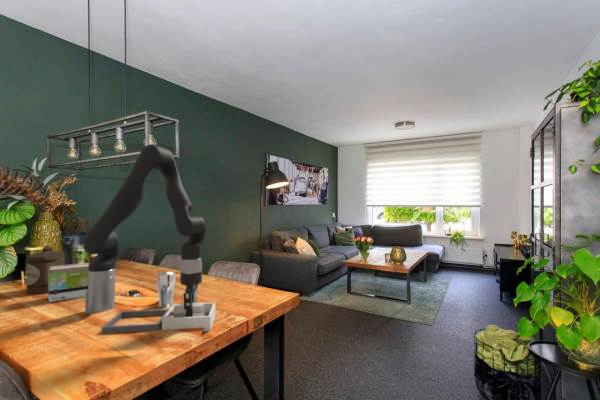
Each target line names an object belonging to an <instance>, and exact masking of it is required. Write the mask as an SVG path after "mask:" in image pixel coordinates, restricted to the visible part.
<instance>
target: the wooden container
mask: <svg viewBox="0 0 600 400" xmlns="http://www.w3.org/2000/svg"><path fill="white" fill-rule="evenodd" d="M26 262H27V265H26V266H27V267H26V293H27V294H29V295H44V294H48V277H49V267H50V266H60V265H66V253H65V252H64V251H52V247H50V246H49V245H48V246H44V247H42V251H41V252H40V253H32V254H28V255H27V257H26Z"/></svg>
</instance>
